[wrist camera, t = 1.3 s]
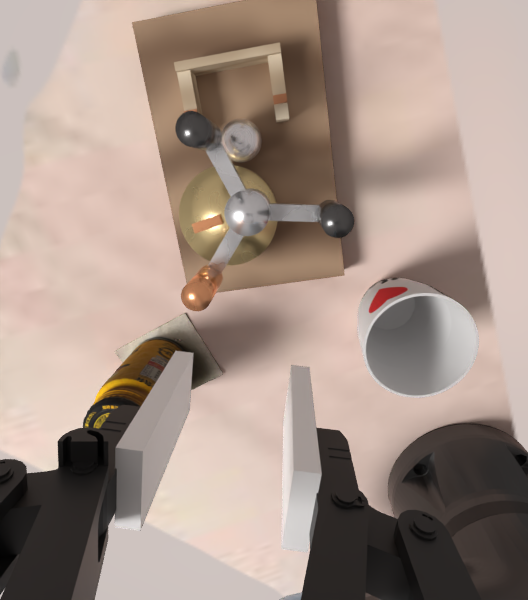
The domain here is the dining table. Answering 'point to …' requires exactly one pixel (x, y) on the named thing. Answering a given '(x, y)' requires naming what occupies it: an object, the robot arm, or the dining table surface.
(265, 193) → the capstan
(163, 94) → the stand
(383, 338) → the cup
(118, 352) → the condiment
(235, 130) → the ball
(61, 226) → the dining table surface
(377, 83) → the dining table surface
